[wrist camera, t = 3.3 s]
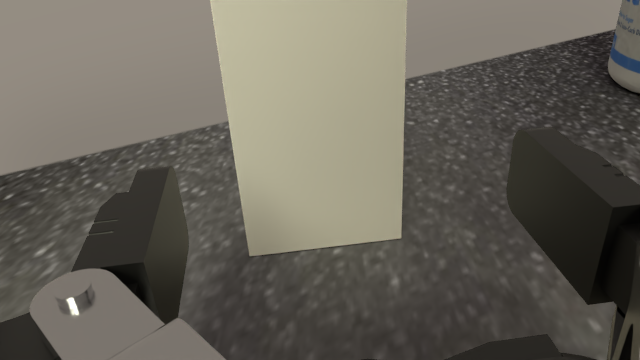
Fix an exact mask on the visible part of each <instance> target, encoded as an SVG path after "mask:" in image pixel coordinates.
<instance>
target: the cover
mask: <svg viewBox="0 0 640 360" xmlns="http://www.w3.org/2000/svg"><path fill="white" fill-rule="evenodd" d="M210 3H211V10H212V16H213V23H214V29H215V36H216V42H217V49H218V55H219V62H220V68H221V74H222V81H223V88H224V94H225V101H226V107H227V114H228V120H229V127H230V133H231V140H232V146H233V153H234V159H235V166H236V172H237V179H238V185H239V192H240V198H241V205H242V211H243V218H244V224H245V231H246V237H247V244H248V250H249V257H250V256H258V255H266V254H275V253H283V252H292V251H300V250H308V249H317V248H325V247H333V246H342V245H350V244H359V243H367V242H375V241H384V240H392V239H400V238H401V230H402V188H403V146H404V104H405V63H406V20H407V19H406V18H407V0H210Z"/></svg>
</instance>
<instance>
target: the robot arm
mask: <svg viewBox="0 0 640 360" xmlns="http://www.w3.org/2000/svg"><path fill="white" fill-rule="evenodd" d="M507 200H508V204H509V207H510V209H511V211H512V213H513V214H514V216H515V217H516V218H517V219H518V220H519V222H520V223H521V224H522V225H523V227H524V228H525V229H526V230H527V231H528V233H529V234H530V235H531V236H532V237H533V239H534V240H535V241H536V242H537V244H538V245H539V246H540V247H541V248H542V250H543V251H544V252H545V253H546V255H547V256H548V257H549V258H550V259H551V261H552V262H553V263H554V264H555V265H556V267H557V268H558V269H559V270H560V272H561V273H562V274H563V275H564V276H565V278H566V279H567V280H568V281H569V283H570V284H571V285H572V286H573V287H574V289H575V290H576V291H577V292H578V294H579V295H580V296H581V297H582V298H583V300H584V301H585V302H586V303H587V304H588V305H590V304H597V303H605V302H612V301H614V303H615V304H616V309H615V312H614V315H613V319H612V325H611V333H610V340H609V347H608V354H607V360H640V186H639V185H638V184H637V183H636V182H634V181H633V180H632V179H630V178H629V177H628V176H623V173H622V172H621V171H620V170H618V169H617V168H616V167H614V166H613V167H611V164H610V163H609V162H608V161H606V160H605V159H604V158H602V157H601V156H600V155H598V154H597V153H595V152H593V151H590V150H588V149H585V148H583V147H581V146H578V145H576V144H574V143H573V142H571V141H570V140H569V139H568V138H566V137H565V136H564V135H562V134H561V133H560V132H559V131H557V130H556V129H555V128H553V127H544V128H535V129H525V130H519V131H518V132H517V133H516V135H515V137H514V141H513V147H512V154H511V162H510V169H509V176H508V183H507ZM188 247H189V240H188V229H187V223H186V219H185V214H184V210H183V205H182V200H181V196H180V191H179V187H178V182H177V178H176V174H175V171H174V168H173V167H172V166H168V167H158V168H149V169H139V170H138V171H137V173H136V175H135V178H134V180H133V183H132V185H131V188H130V191H129V192H125V193H116V194H115V195H114V196H113V197H111V198H110V199H109V200H108V201H107V202H106V203H105V204H104V205H102V206H101V208H100V210H99V212H98V214H97V216H96V218H95V221H94V224H93V225H92V227H91V229H90V232H89V236H87V238H86V240H85V242H84V245H83V247H82V249H81V251H80V253H79V256H78V258H77V260H76V262H75V264H74V266H73V269H72V271H71V273H68V274H65V275H63V276H60V277H58V278H57V279H55V280H53V281H51V282H50V283H48V284H47V285H46V286H44V287H43V288H42V289H41V290H40V291H39V292H38V293H37V294H36V295H35V297H34V298H33V300H32V302H31V305H30V312H29V313H27V314H24V315H22V316H19V317H16V318H13V319H10V320H7V321H4V322H1V323H0V360H226V359H225V358H224V357H223V356H222V355H221V354H219V353H218V352H217V351H216V350H215V349H214V348H213V347H212V346H211V345H210V344H209V343H208V342H207V341H205V340H204V339H203V338H202V337H201V336H200V335H199V334H198V333H197V332H196V331H195V330H194V329H192V328H191V327H190V326H189V325H188V324H187V323H186V322H185V321H183V320H182V319H180V318H178V312H179V305H180V299H181V293H182V287H183V280H184V274H185V268H186V262H187V255H188ZM363 360H375V359H363ZM445 360H596V359H592V358H588V357H584V356H579V355H573V354H567V353H560V352H559V351H558V349H557V348H556V346H555V345H554V343H553V342H552V340H551V339H550V337H549V336H548V335H547V334H544V335H537V336H530V337H523V338H515V339H508V340H501V341H494V342H489V343H486V344H483V345H481V346H478V347H476V348H473V349H471V350H468V351H465V352H463V353H460V354H458V355H455V356H453V357H450V358H448V359H445Z"/></svg>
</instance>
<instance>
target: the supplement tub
mask: <svg viewBox="0 0 640 360" xmlns="http://www.w3.org/2000/svg"><path fill="white" fill-rule="evenodd" d="M608 71H609V74H610V76H611V77H612V79H613V80H614V81H615V82H617V83H618V84H619V85H621V86H622V87H624V88H626V89H628V90H630V91H632V92H636V93H640V0H622V5H621V9H620V13H619V17H618V22H617V26H616V30H615V35H614V39H613V44H612V48H611V53H610V57H609V62H608Z"/></svg>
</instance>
